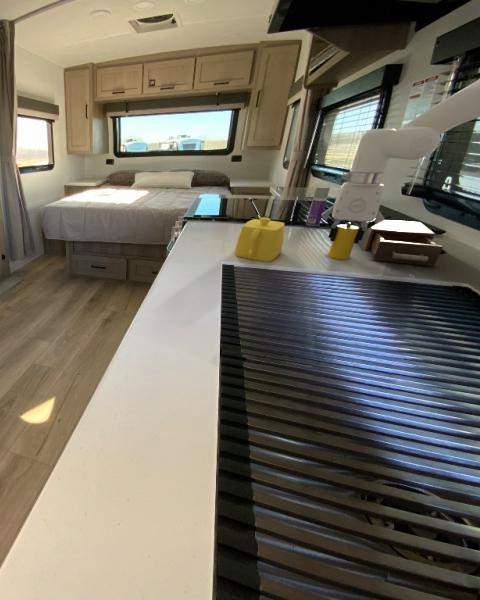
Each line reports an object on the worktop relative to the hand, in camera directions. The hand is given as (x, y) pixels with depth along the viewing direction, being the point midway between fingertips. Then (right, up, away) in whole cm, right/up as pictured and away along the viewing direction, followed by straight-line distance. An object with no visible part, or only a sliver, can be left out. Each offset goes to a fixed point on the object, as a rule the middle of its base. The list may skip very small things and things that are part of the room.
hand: (343, 240), depth 100 cm
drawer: (+15, -5, -2) cm, 16 cm away
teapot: (-21, -3, +10) cm, 23 cm away
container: (+17, +13, +37) cm, 43 cm away
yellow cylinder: (0, -5, +3) cm, 6 cm away
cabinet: (+22, -1, +9) cm, 23 cm away
